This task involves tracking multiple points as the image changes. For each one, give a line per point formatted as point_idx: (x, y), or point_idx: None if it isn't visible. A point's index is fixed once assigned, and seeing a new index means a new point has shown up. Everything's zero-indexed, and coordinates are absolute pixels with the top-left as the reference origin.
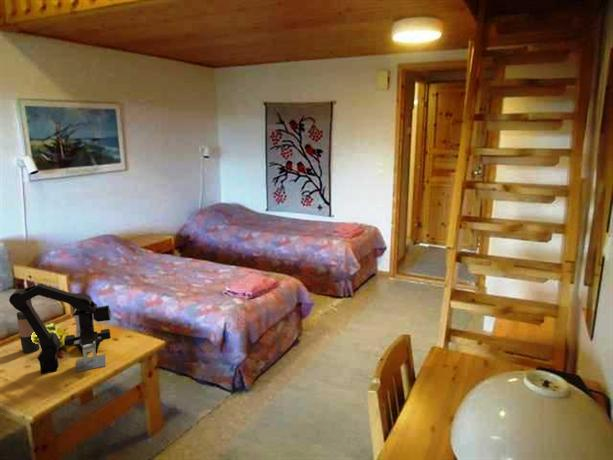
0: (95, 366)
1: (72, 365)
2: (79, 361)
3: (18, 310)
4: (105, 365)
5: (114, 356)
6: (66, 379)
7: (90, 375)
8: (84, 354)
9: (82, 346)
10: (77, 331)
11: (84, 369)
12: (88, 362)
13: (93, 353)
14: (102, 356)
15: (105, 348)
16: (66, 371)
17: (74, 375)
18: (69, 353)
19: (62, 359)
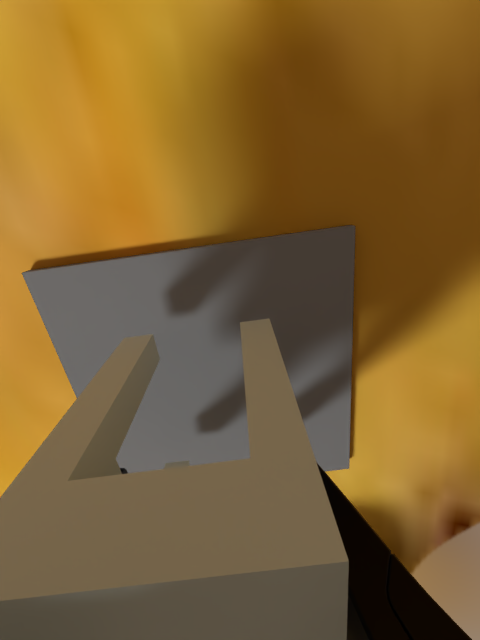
0: (141, 286)
1: (384, 387)
2: (327, 431)
3: None
4: (37, 291)
5: (23, 450)
6: (469, 38)
7: (151, 52)
8: (272, 418)
9: None
10: None
11: (258, 247)
12: (241, 394)
13: (90, 430)
14: (131, 466)
15: None
16: (446, 281)
17: (366, 139)
18: (401, 554)
19: (454, 495)
